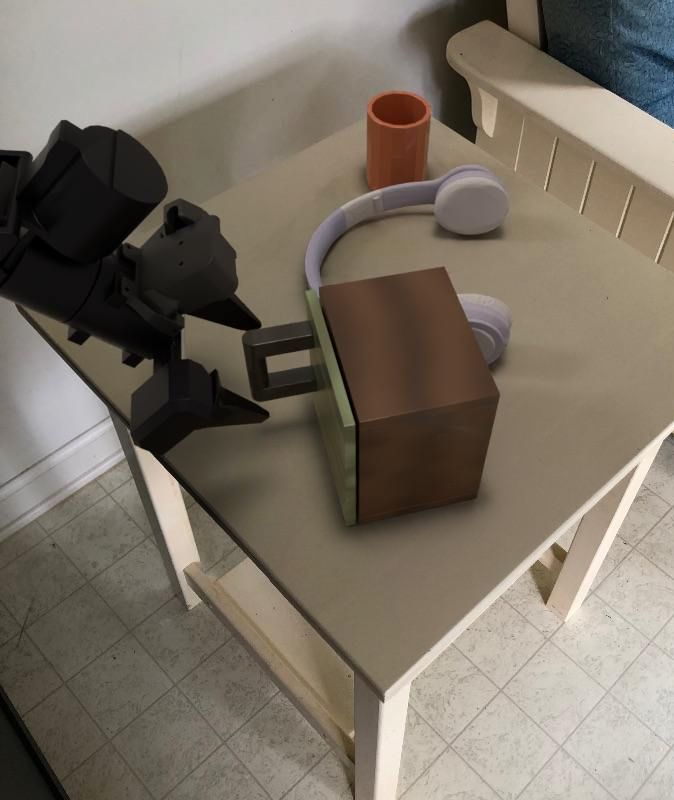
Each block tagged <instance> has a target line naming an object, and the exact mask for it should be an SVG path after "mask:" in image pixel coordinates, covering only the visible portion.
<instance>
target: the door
mask: <svg viewBox="0 0 674 800" xmlns="http://www.w3.org/2000/svg"><path fill="white" fill-rule="evenodd" d="M304 295H305V308H306V320H302V321H296V322H291V323H285V324H279V325H273V326H267V327H261V328H260V329H255V330H249V331H244V333H243V334H242V335H241V344H242V349H243V355H244V360H245V368H246V372H247V378H248V385H249V391H250V396H251V399H252V400H253V401H255V402H256V403H263V402H269V401H273V400H280V399H286V398H289V397H295V396H301V395H306V394H312V403H313V406H314V409H315V414H316V418H317V421H318V425H319V428H320V432H321V436H322V441H323V443H324V448H325V451H326V454H327V458H328V459H327V460H328V462H329V466H330V470H331V473H332V477H333V481H334V486H335V488H336V492H337V497H338V500H339V505H340V507H341V511H342V515H343V518H344V523H345V526H346V527H349V526H353V525H356V524H357V514H356V424H355V421H354V418H353V414H352V411H351V408H350V404H349V401H348V397H347V394H346V391H345V387H344V384H343V381H342V377H341V374H340V371H339V367H338V364H337V360H336V357H335V354H334V350H333V347H332V344H331V340H330V337H329V334H328V330H327V327H326V323H325V320H324V317H323V313H322V310H321V307H320V303H319V300H318V296H317V293H316V290H315V289H313V290H310V289H307V290H305V291H304ZM302 351H308V353H309V363H310V365H305V366H300V367H294V368H290V369H283V370H277V371H273V372H269V368H268V361H267V358H268V357H269V358H270V357H275V356H279V355H286V354H291V353H292V354H293V353H297V352H302Z"/></svg>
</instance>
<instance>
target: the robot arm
mask: <svg viewBox="0 0 674 800" xmlns="http://www.w3.org/2000/svg"><path fill="white" fill-rule="evenodd" d="M168 192H169V184H168V180H167V177H166V174H165V172H164V170H163V167H162V166H161V164H160V163H159V162H158V160H157V159H156V157H155V156H154V155H153V154H152V153H151V152H150V151H149V149H147V147H146V146H145V145H143V144H142V143H141V141H139V140H137V139H136V138H135V137H133V136H132V135H131V134H129V133H128V132H126V131H124V130H123V129H120V128H118V129H117V130H116V129H114V128H111V127H109V126H105V125H99V124H95V125H94V124H92V125H88V126H86V127H84V128H83V129H82V128H81V127H80V126H78V125H76V124H74V123H73V122H71V121H70V120H68V119H60V121H59V122H58V123H57V125H56V126H55V127H54V129H53V130H52V131H51V132H50V134H49V137H48V140H47V143H45V146H44V147H43V148H42V150H41V151H40V152H39V153H38V155H37V156H36V157H35V159H34V156H33V154H32V153H31V152H30V151H27V150H13V149H0V298H2V299H5V300H7V301H10V302H11V303H13V304H16V305H19V306H20V307H22V308H25V309H28V310H29V311H32V312H35V313H36V314H39V315H41V316H44V317H46V318H49V319H50V320H53V321H55V322H58V323H60V324H62V325H64V326H67V338H66V339H67V341H68V342H71V343H74V344H75V345H78V346H83V345H84V344H85V342H87V341H88V340H89V339H90V337H92V338H94V339H96V340H98V341H102V342H103V343H106V344H108V345H110V346H113V347H114V348H117V349H120V350H121V364H123V365H125V366H127V367H130V368H132V369H136V367H138V366H139V365H140V364H142V362H143V361H144V360H148V361H151V360H152V361H153V363H152V367H153V368H152V375H151V376H150V377H148V379H147V380H146V381H144V382H143V383H142V384H140V386H139V387H137V388H136V389H135V390H134V391H133V392H132V393H131V395H130V399H131V400H130V420H129V421H130V423H129V436H130V438H131V440H132V443H133V445H134V446H135V447H137V448H139V449H141V450H144V451H146V452H150V453H152V454H155V455H158V456H160V457H164V456H165V455H166V454H167V453H168V452H170V451H171V450H172V449H173V448H175V447H176V446H177V445H178V444H179V443H181V442H182V441H184V440H185V439H186V438H187V437H188V436H189V435H191V434H192V433H193V432H195V431H199V430H205V429H210V428H211V429H212V428H221V427H222V428H223V427H231V426H243V425H244V426H245V425H255V424H262V423H264V422H266V421H267V420H269V418H270V416H271V415H270V411H269V410H267V409H265V408H264V407H262V406H261V405H260V404H258V403H257V402H254V401H252V400H250V399H248V398H246V397H244V396H242V395H240V394H238V393H236V392H234V391H232V390H230V389H228V388H226V387H224V386H223V385H222V382H221V378H220V375H219V371H218V369H217V368H215V369H213V370H212V371H210V373H209V371H208V370H207V369H206V368H205V366H204V365H203V363H199V362H197V361H196V360H193V359H191V358H186V323H185V322H186V321H185V320H186V319H185V318H186V317H185V315H187V316H190V317H193V318H196V319H197V318H198V319H200V320H204V321H208V322H210V323H213V324H217V325H221V326H223V327H228V328H231V329H233V330H237V331H238V330H239V331H244V332H247V331H249V330H255V329H261V328H263V327H262V325H263V324H262V321H261V320H260V319H259V318H258V317H257V315H255V314H254V312H253V311H252V310H251V309H250V308H249V306H247V305H246V304H245V303H244V302H243V301H242V300H241V298H240V297H238V295H237V294H235V293H236V291H237V290H238V287H239V276H238V275H237V261H236V260H237V258H238V255H237V254H238V253H237V251H236V249H234V247H233V246H232V244H231V243H230V242H229V241H228V240H227V239H226V237H224V235H223V234H222V233H221V232H222V231H221V219H220V217H219V216H218V215H215V214H209V213H208V211H206V210H204V208H203V207H200V206H198V205H196V204H194V203H192V202H190V201H188V200H186V199H183V198H181V197H179V198H176V199H173V200H172V201H170V202H168V203H166V204H165V205H164V206H163V212H162V213H163V215H162V216H163V217H162V218H163V221H162V222H163V223H162V224H161V225H160V226H159V228H157V230H155V231H154V233H153V234H152V235H151V236H150V237H149V238H148V239H146V241H145V242H144V243H143V244H142V245H141V246H140V247H138V246H135V245H133V244H131V243H130V242H127V241H126V240H127V238H129V237H130V236H131V234H133V232H135V230H137V228H138V227H139V226H140V225H141V224H142V223H143V222H144V221H145V220H146V219H147V217H148V216H149V215H151V214H152V212H153V211H154V210H155V209H156V208H157V207H159V205H160V204H161V203H162V202H163V200H165V198H166V197H167V195H168ZM125 241H126V242H125Z"/></svg>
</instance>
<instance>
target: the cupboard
mask: <svg viewBox="0 0 674 800" xmlns="http://www.w3.org/2000/svg"><path fill="white" fill-rule="evenodd" d="M457 294H458V293H457V291H456V289H455V287H454V284H453V283H452V280H451V278H450V276H449V274H448V271H447V269H446V267H445V266H438V267H431V268H425V269H420V270H419V269H418V270H414V271H413V270H412V271H408V272H402V273H395V274H389V275H384V276H377V277H371V278H365V279H359V280H353V281H347V282H341V283H335V284H329V285H322V287H319V302H320V307H321V310H322V313H323V317H324V320H325V323H326V327H327V330H328V334H329V337H330V340H331V344H332V347H333V350H334V354H335V357H336V360H337V364H338V367H339V371H340V374H341V377H342V381H343V384H344V387H345V391H346V394H347V397H348V401H349V404H350V408H351V411H352V414H353V418H354V421H355V424H356V519H357V522H358V524H360V525H361V524H365V523H370V522H374V521H379V520H383V519H389V518H392V517H397V516H402V515H406V514H410V513H415V512H419V511H424V510H428V509H433V508H438V507H443V506H447V505H450V504H455V503H459V502H460V503H461V502H464V501H468V500H473V499H477V498H478V495H479V492H480V491H479V490H480V487H481V486H480V485H481V481H482V478H483V473H484V469H485V464H486V460H487V455H488V452H489V451H488V450H489V447H490V442H491V438H492V433H493V429H494V423H495V419H496V415H497V412H498V406H499V403H500V398H501V393H500V391H499V388H498V385H497V383H496V381H495V378H494V376H493V374H492V372H491V370H490V367H489V364H488V365H487V363H486V360H485V358H484V356H483V354H482V351H481V349H480V347H479V344H478V342H477V340H476V337H475V335H474V333H473V331H472V328H471V326H470V324H469V321H468V319H467V317H466V315H465V312H464V310H463V308H462V305H461V303H460V301H459V299H458V296H457Z"/></svg>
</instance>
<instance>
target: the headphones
mask: <svg viewBox="0 0 674 800" xmlns="http://www.w3.org/2000/svg"><path fill="white" fill-rule="evenodd" d="M424 205H433V214H434V217H435V220H436V222H437V223H438V224H439V225H440V226H441V227H442V228H444V229H446V230H448V231H450V232H452V233H455V234H460V235H465V236H466V235H469V236H471V235H480V234H486V233H488V232H491V231H493V230H495V229H497V228H498V227H500V225H501V224H502V223H503V222H504V221H505V220H506V217H507V215H508V214H509V211H510V199H509V196H508V192H507V190H506V188H505V185H504V184H503V182H502V181H501V180H500V179H499V178H498V177H497V176H496V175H495V173H494V172H492V170H490V169H488V168H487V167H484V166H481V165H479V164H463V165H459V166H457V167H454V168H452V169H450V170H449V171H448V172H446V173H444V174H443V175H442V176H441V177H438V178H435V179H432V180H431V179H430V180H425V181H421V182H411V183H404V184H399V185H394V186H389V187H386V188H382V189H379V190H375V191H372V190H371V191H370V192H369V191H368V192H367V193H365V194H362V195H360V196H357V197H356V198H354V199H352V200H350V201H348V202H346V203H345V204H343V205H342V206H340V207H338V208H337V209H336V210H334V211H333V212H332V213H331V214H329V215H328V217H326V218H325V219H324V220H323V221H322V222H321V223H320V225H318V227H317V229H316V230H315V231H314V233H313V235H312V236H311V238H310V239H309V240H310V241H309V242H308V245H307V249H306V251H305V258H304V259H305V260H304V268H305V275H306V280H307V286H308V288H309V289H308V290H313V289H315V290H316V293H317V296H318V300H319V287H322V286H323V283H322V282H323V281H322V278H321V267H322V264H323V261H324V260H325V257H326V254H327V253H328V251H329V249H330V247H331V246H332V245H333V243H334V242H335V241H336V240H337V239H338V238H339V237H341V235H343V234H344V233H346V231H347V230H348V229H350V228H351V227H353V226H355V225H356V224H358V223H360V222H362V221H364V220H367V219H369V218H370V217H373V216H376V215H380V214H382V213H386V212H388V211H393V210H396V209H402V208H407V207H414V206H424ZM456 294H457V296H458V299H459V301H460V303H461V305H462V308H463V310H464V312H465V315H466V317H467V319H468V321H469V324H470V326H471V328H472V331H473V333H474V335H475V337H476V340H477V342H478V344H479V347H480V349H481V351H482V354H483V356H484V358H485V360H486V363H487V365H488V366H489V365H491V364H492V363H493V362H495V361H496V360H497V359H498V358H499V357H500V356H501V355H502V353H503V351H504V348H507V346H508V345H509V342H510V337H511V328H512V326H513V315H512V312H511V310H510V309H509V307H508V306H507V304H505V303H504V302H503V301H501V300H500V299H497V298H495V297H492V296H489V295H484V294H480V293H456ZM319 303H320V302H319Z"/></svg>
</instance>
